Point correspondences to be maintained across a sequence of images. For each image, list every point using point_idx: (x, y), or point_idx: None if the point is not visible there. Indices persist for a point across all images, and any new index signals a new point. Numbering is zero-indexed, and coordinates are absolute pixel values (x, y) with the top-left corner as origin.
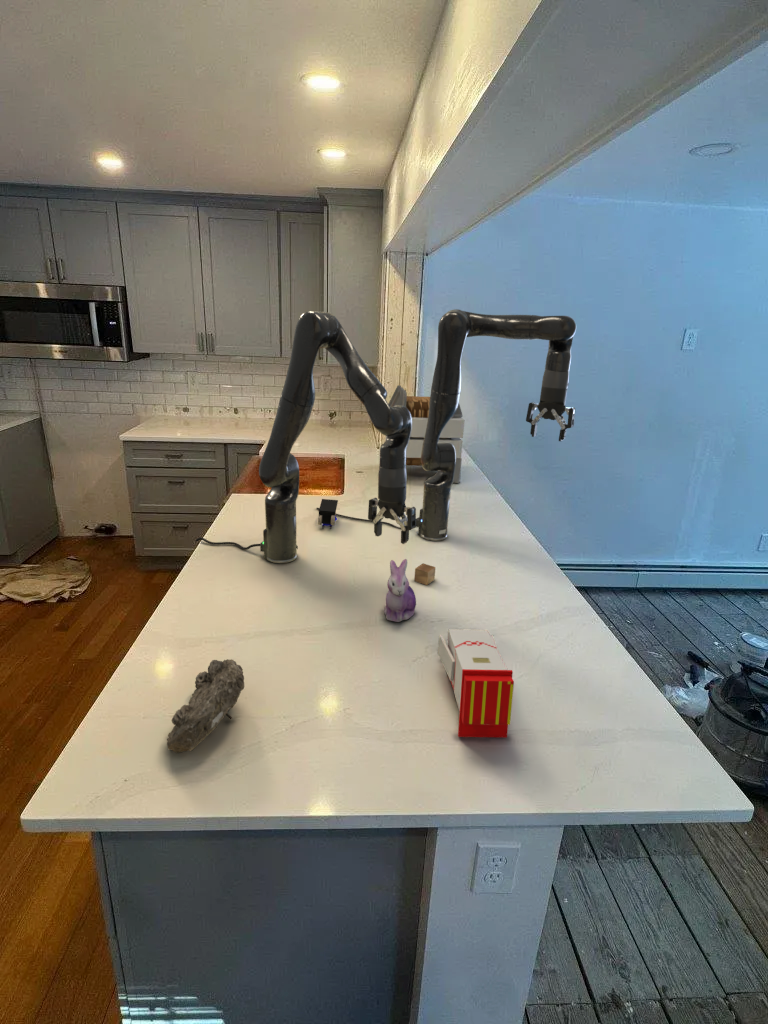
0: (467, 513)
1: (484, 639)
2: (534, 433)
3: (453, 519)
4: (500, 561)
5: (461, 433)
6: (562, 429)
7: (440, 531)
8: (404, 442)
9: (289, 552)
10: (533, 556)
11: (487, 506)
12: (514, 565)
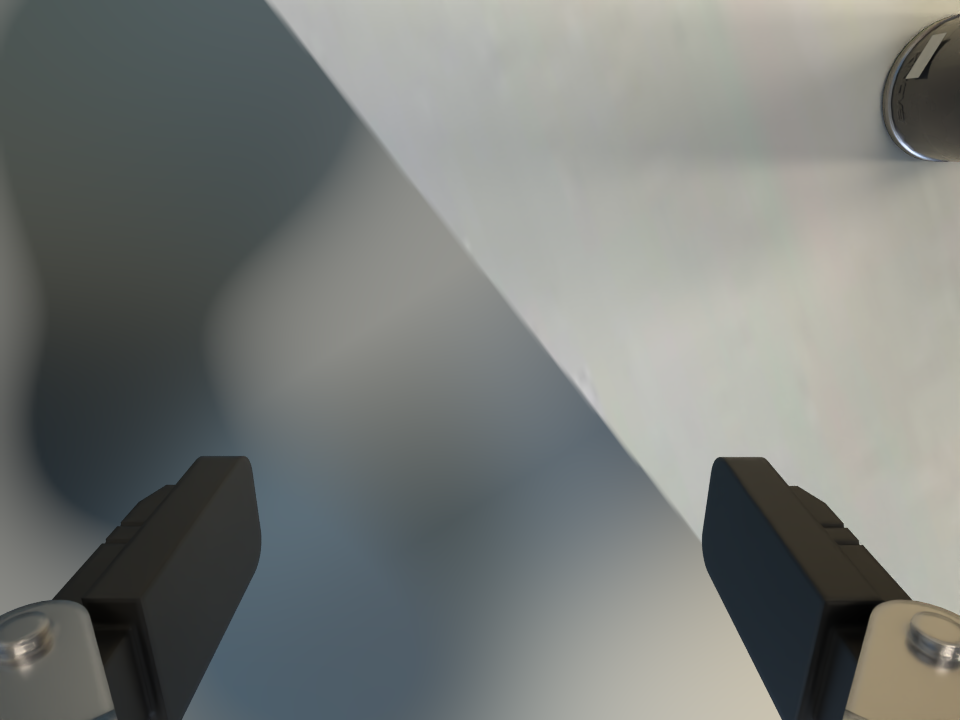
0: (876, 466)
1: None
2: (737, 499)
3: (916, 359)
4: (560, 15)
5: None
6: (93, 619)
7: (937, 42)
8: None
9: None
10: (457, 181)
11: None
12: (489, 15)
